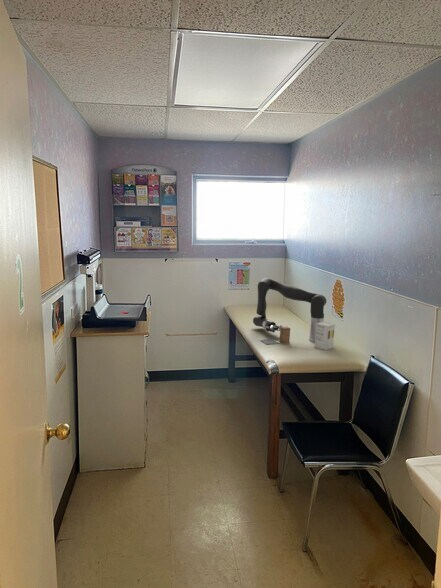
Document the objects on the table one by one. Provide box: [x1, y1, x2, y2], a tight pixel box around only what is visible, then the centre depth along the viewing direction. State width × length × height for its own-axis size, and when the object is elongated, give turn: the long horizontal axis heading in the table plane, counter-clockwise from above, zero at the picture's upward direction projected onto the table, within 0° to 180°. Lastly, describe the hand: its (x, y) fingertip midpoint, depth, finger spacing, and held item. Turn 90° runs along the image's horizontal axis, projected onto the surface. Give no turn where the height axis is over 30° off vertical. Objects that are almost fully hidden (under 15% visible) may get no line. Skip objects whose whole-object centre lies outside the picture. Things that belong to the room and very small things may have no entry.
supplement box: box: [314, 321, 336, 351], centre depth 297 cm, size 10×9×17 cm
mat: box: [260, 338, 280, 345], centre depth 306 cm, size 10×10×1 cm
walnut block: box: [279, 326, 291, 345], centre depth 306 cm, size 5×5×11 cm
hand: (279, 330), depth 313 cm, fingers open, 8 cm apart
